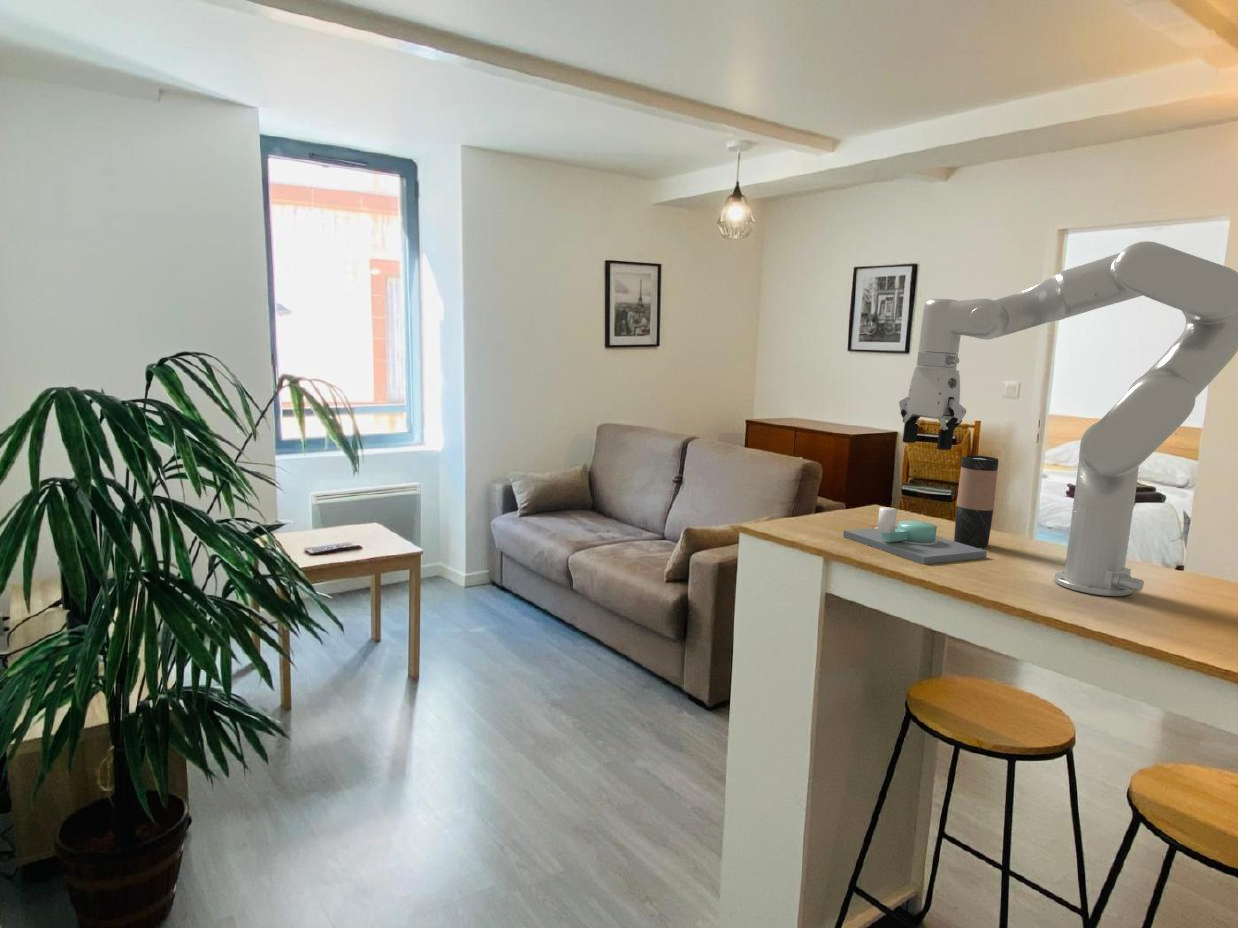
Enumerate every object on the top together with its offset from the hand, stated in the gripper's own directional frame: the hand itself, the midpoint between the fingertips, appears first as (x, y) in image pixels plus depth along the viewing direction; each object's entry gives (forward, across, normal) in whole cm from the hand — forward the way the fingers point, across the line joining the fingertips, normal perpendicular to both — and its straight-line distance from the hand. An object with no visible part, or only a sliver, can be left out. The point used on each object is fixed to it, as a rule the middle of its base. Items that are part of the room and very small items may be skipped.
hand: (926, 445), depth 160 cm
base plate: (+24, +8, -7) cm, 26 cm away
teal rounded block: (+22, +7, -4) cm, 23 cm away
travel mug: (+24, +6, -23) cm, 34 cm away
